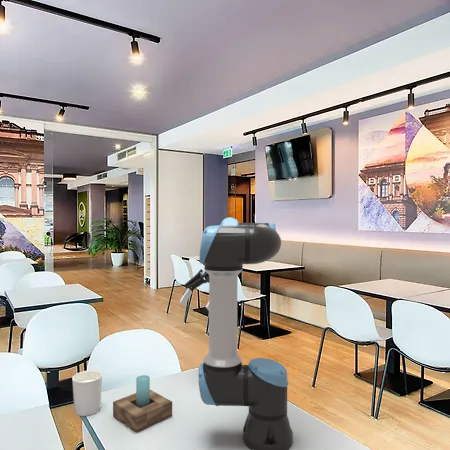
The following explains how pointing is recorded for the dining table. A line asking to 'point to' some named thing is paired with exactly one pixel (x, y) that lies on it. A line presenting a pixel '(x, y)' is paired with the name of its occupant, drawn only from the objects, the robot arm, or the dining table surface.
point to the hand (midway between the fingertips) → (194, 306)
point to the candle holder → (87, 392)
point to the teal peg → (142, 391)
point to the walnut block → (142, 411)
